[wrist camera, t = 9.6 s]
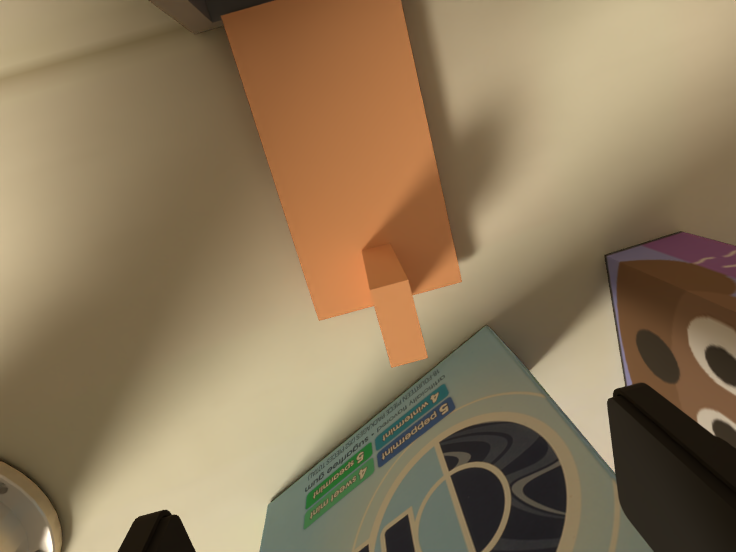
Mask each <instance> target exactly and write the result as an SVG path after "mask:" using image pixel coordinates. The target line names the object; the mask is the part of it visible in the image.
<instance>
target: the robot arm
mask: <svg viewBox="0 0 736 552" xmlns="http://www.w3.org/2000/svg"><path fill="white" fill-rule="evenodd" d="M607 407H608V415H609V424H610V432H611V440H612V449H613V457H614V465H615V474H616V482H617V490H618V498H619V502H620V505H621V508H622V510H623V512H624V514H625V515H626V517H627V518H628V520H629V521H630V522H631V524H632V525H633V526H634V527H635V529H636V530H637V531H638V532H639V534H640V535H641V536H642V538H643V539H644V540H645V541H646V543H647V544H648V545H649V546H650V548H651V549H652V550H653V552H736V448H734V447H733V446H732V445H730V444H729V443H728V442H726V441H725V440H723V439H721V438H720V437H717V436H714V435H713V434H712V433H710V432H709V431H708V430H706V429H705V428H704V427H702V426H701V425H700V424H698V423H697V422H696V421H695V420H693V419H692V418H691V417H689V416H688V415H687V414H685V413H684V412H683V411H682V410H680V409H679V408H678V407H676V406H675V405H674V404H672V403H671V402H670V401H668V400H667V399H666V398H665V397H663V396H662V395H661V394H659V393H658V392H657V391H655V390H654V389H653V388H651V387H650V386H649V385H647V384H646V383H642V382H640V383H636V384H633V385H629V386H625V387H621V388H618V389H615V390H614V393H613V397H612V398H609V399H608V401H607ZM61 546H62V532H61V525H60V522H59V519H58V516H57V513H56V511H55V509H54V508H53V506H52V504H51V503H50V501H49V499H48V498H47V497H46V495H45V494H44V493H43V492H42V491H41V490H40V488H39V487H38V486H37V485H36V484H35V483H34V482H32V481H31V480H30V479H29V478H27V477H26V476H25V475H24V474H23V473H21V472H20V471H18V470H16V469H14V468H13V467H11V466H9V465H8V464H6V463H4V462H1V461H0V552H60V551H61ZM118 552H196V551H195V549H194V547H193V545H192V543H191V541H190V539H189V536H188V534H187V532H186V530H185V528H184V526H183V524H182V521H181V519H180V518H179V516H177V515H171V513H170V512H169V511H168V510H162V511H158V512H154V513H150V514H147V515H143V516H139V517H138V518H136V519H135V521H134V522H133V524H132V526H131V528H130V530H129V531H128V533H127V535H126V537H125V539H124V541H123V543H122V545H121V547H120V549H119V550H118Z"/></svg>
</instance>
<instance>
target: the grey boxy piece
mask: <svg viewBox="0 0 736 552" xmlns="http://www.w3.org/2000/svg"><path fill="white" fill-rule="evenodd" d="M149 1H150V2H151V3H153V4H154V5H156V6H157V7H158V8H160V9H161V10H162V11H164V12H165V13H166V14H168V15H169V16H171V17H172V18H173V19H175V20H176V21H177V22H179V23H180V24H181V25H183V26H184V27H185V28H187V29H188V30H190V31H191V32H192V33H194V34H197V33H200V32H204V31H207V30H211V29H214V28H218V27H221V26H224V24H223V21H222V18H221V16H222V15H225V14H229V13H232V12H236V11H239V10H243V9H246V8H250V7H253V6H257V5H260V4H264V3H267V2H271V1H274V0H149Z"/></svg>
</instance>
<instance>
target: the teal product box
mask: <svg viewBox="0 0 736 552" xmlns="http://www.w3.org/2000/svg"><path fill="white" fill-rule="evenodd" d="M259 552H653V550H652V549H651V548H650V546H649V545H648V544H647V543H646V541H645V540H644V539H643V538H642V536H641V535H640V534H639V532H638V531H637V530H636V529H635V527H634V526H633V525H632V524H631V522H630V521H629V520H628V518H627V517H626V515H625V514H624V512H623V510H622V508H621V505H620V502H619V498H618V490H617V482H616V474H615V473H614V472H613V470H612V469H611V468H610V467H609V466H608V465H607V463H606V462H605V461H604V460H603V459H602V457H601V456H600V455H599V454H598V453H597V451H596V450H595V449H594V448H593V447H592V445H591V444H590V443H589V442H588V441H587V439H586V438H585V437H584V436H583V435H582V433H581V432H580V431H579V430H578V429H577V427H576V426H575V425H574V424H573V423H572V421H571V420H570V419H569V418H568V417H567V415H566V414H565V413H564V412H563V411H562V410H561V409H560V407H559V406H558V405H557V404H556V403H555V401H554V400H553V399H552V398H551V397H550V395H549V394H548V393H547V392H546V391H545V389H544V388H543V387H542V386H541V385H540V383H539V382H538V381H537V380H536V378H535V377H534V376H533V375H532V374H531V372H530V371H529V370H528V369H527V368H526V366H525V365H524V364H523V363H522V362H521V361H520V360H519V359H518V358H517V356H516V355H515V354H514V353H513V352H512V351H511V350H510V349H509V348H508V347H507V346H506V345H505V344H504V342H503V341H502V340H501V339H500V338H499V337H498V336H497V335H496V334H495V332H494V331H493V330H492V329H491V328H490V327H489V326H488V325H487V326H484V327H483V328H482V329H481V330H480V331H478V332H477V333H476V334H475V335H474V336H472V337H471V338H470V339H469V340H468V341H466V342H465V343H464V344H463V345H461V346H460V347H459V348H458V349H457V350H455V351H454V352H453V353H452V354H450V355H449V356H448V357H447V358H446V359H444V360H443V361H442V362H441V363H439V364H438V365H437V366H436V367H435V368H433V369H432V370H431V371H430V372H429V373H427V374H426V375H425V376H424V377H422V378H421V379H420V380H419V381H418V382H416V383H415V384H414V385H413V386H412V387H410V388H409V389H408V390H407V391H405V392H404V393H403V394H402V395H401V396H399V397H398V398H397V399H396V400H395V401H393V402H392V403H391V404H390V405H388V406H387V407H386V408H385V409H384V410H382V411H381V412H380V413H379V414H378V415H376V416H375V417H374V418H373V419H371V420H370V421H369V422H368V423H367V424H365V425H364V426H363V427H362V428H361V429H359V430H358V431H357V432H356V433H354V434H353V435H352V436H351V437H350V438H348V439H347V440H346V441H345V442H344V443H342V444H341V445H340V446H339V447H338V448H336V449H335V450H334V451H333V452H332V453H330V454H329V455H328V456H327V457H325V458H324V459H323V460H322V461H320V462H319V463H318V464H317V465H316V466H315V467H313V468H312V469H311V470H310V471H308V472H307V473H306V474H305V475H304V476H302V477H301V478H300V479H299V480H298V481H296V482H295V483H294V484H293V485H292V486H290V487H289V488H288V489H287V490H286V491H284V492H283V493H282V494H281V495H280V496H278V497H277V498H276V499H275V500H273V501H272V502H271V503H270V504H269V505H268V507H267V514H266V519H265V525H264V530H263V536H262V541H261V546H260V551H259Z"/></svg>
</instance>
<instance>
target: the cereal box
mask: <svg viewBox="0 0 736 552" xmlns="http://www.w3.org/2000/svg"><path fill="white" fill-rule="evenodd" d="M604 256H605V262H606V269H607V275H608V281H609V287H610V293H611V300H612V306H613V312H614V318H615V325H616V331H617V337H618V343H619V350H620V356H621V362H622V368H623V374H624V381H625V386H629V385H633V384H636V383H640V382H642V383H646V384H647V385H649V386H650V387H651V388H653V389H654V390H655V391H657V392H658V393H659V394H661V395H662V396H663V397H665V398H666V399H667V400H668V401H670V402H671V403H672V404H674V405H675V406H676V407H678V408H679V409H680V410H682V411H683V412H684V413H685V414H687V415H688V416H689V417H691V418H692V419H693V420H695V421H696V422H697V423H698V424H700V425H701V426H702V427H704V428H705V429H706V430H708V431H709V432H710V433H712V434H713V435H714V436H717V437H720V438H721V439H723V440H725V441H726V442H728V443H729V444H730V445H732V446H733V447H734V448H736V246H734V245H730V244H726V243H722V242H719V241H715V240H711V239H708V238H704V237H700V236H696V235H693V234H689V233H685V232H681V231H680V232H677V233H674V234H671V235H668V236H664V237H661V238H658V239H655V240H652V241H648V242H645V243H642V244H639V245H635V246H632V247H629V248H626V249H623V250H619V251H616V252H613V253H610V254H607V255H604Z"/></svg>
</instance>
